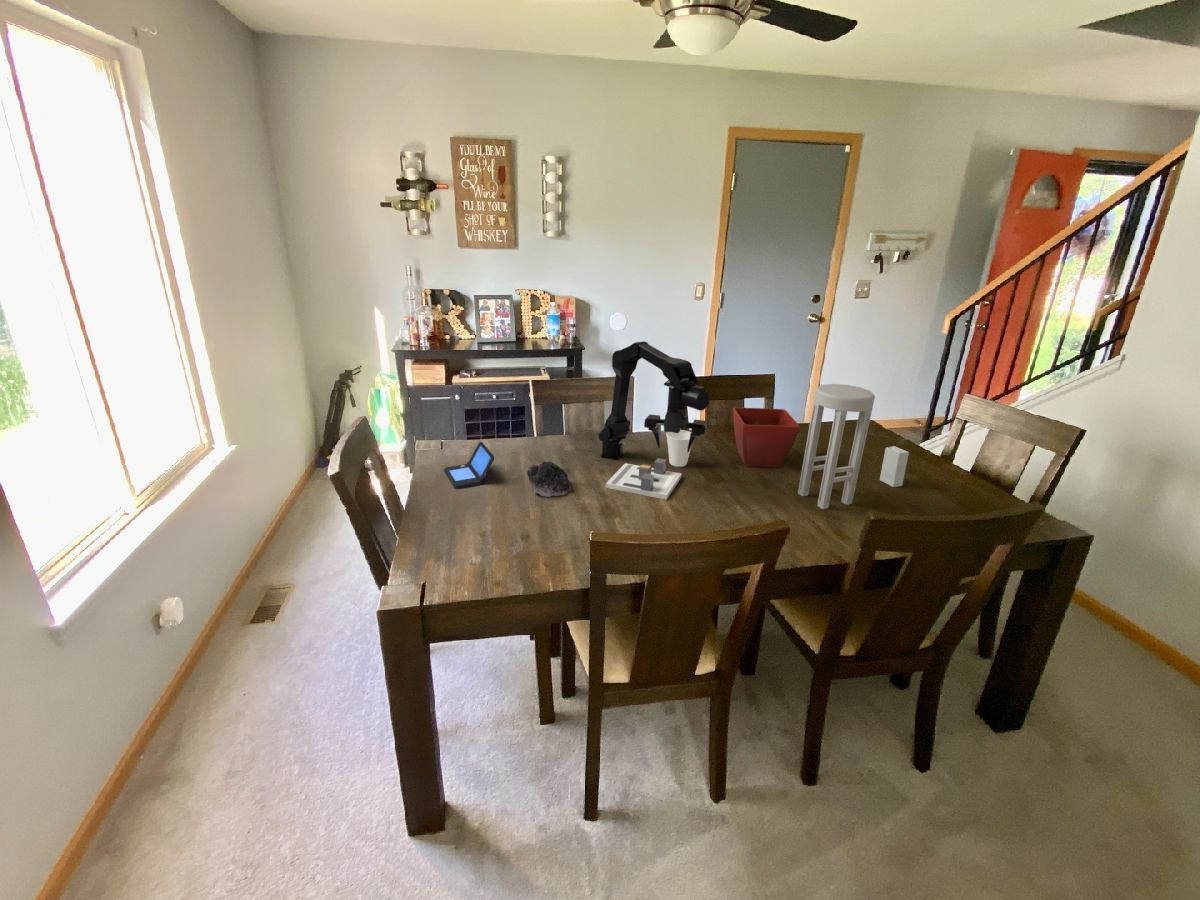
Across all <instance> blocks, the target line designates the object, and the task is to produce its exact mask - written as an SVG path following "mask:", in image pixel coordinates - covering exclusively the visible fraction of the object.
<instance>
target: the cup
mask: <svg viewBox="0 0 1200 900" xmlns="http://www.w3.org/2000/svg"><path fill="white" fill-rule="evenodd" d="M691 432H692V431H688V430H685V429H680V432H679V433H674V432H666V433H665V435H666V439H667V440H666V443H667V450H668V452H667V453H668V461H669V464H670V465H671V466H673V467H677V468H682V467H685V466H687V465H688V461H689V457H690V453H691V449H692V446H693V444H692V445H691V448H690V450H689V452H687V450H688V444H689V439H690V434H691Z"/></svg>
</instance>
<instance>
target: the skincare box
mask: <svg viewBox="0 0 1200 900" xmlns="http://www.w3.org/2000/svg"><path fill="white" fill-rule="evenodd" d="M909 454H910V452H909V451H908V450H907V451H906V450H904V449H902V448H900V447H897V446H895V445H893V446H887V447H885V449H884V454H883V455H884V456H883V460H882V466H881V472H880V476H879V481H880V482H883V483H884V484H887V485H888V486H890V487H892V488H897V487H902V486H903V483H904V478H905V474H906V469H907V463H908V459H909Z"/></svg>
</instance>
